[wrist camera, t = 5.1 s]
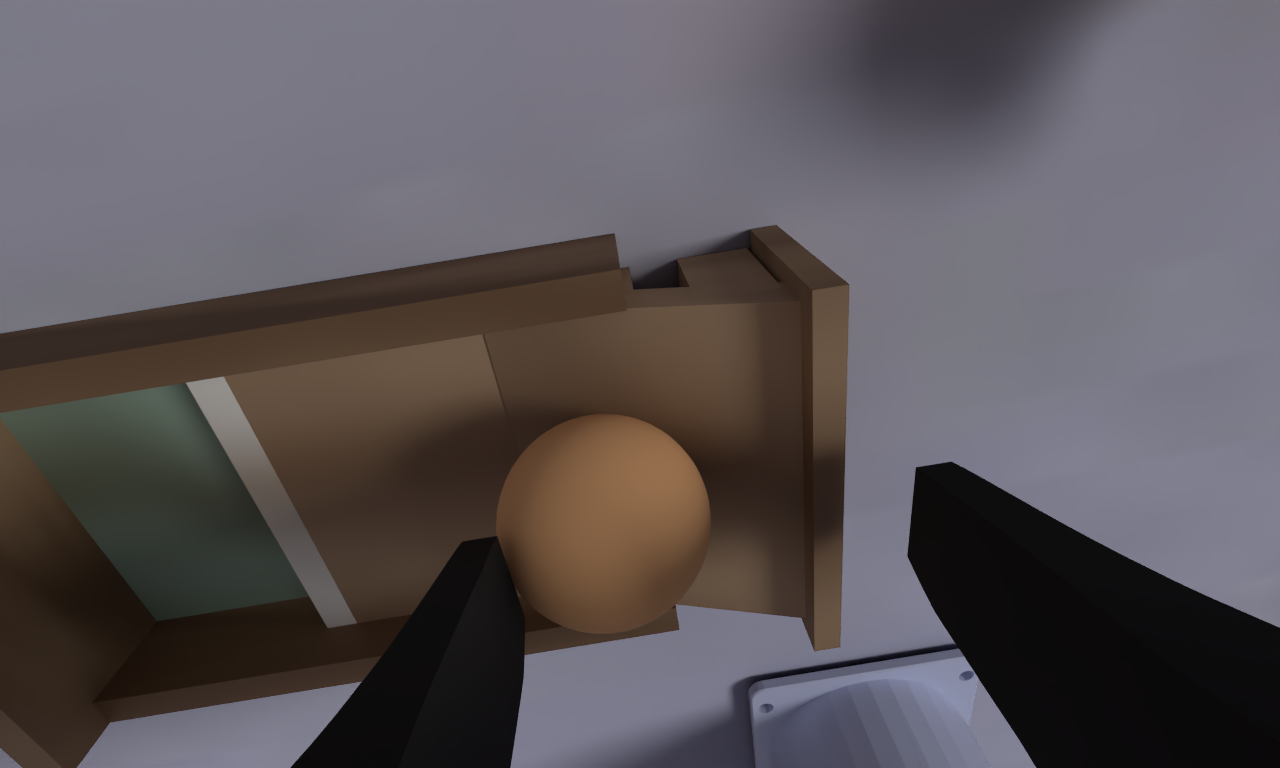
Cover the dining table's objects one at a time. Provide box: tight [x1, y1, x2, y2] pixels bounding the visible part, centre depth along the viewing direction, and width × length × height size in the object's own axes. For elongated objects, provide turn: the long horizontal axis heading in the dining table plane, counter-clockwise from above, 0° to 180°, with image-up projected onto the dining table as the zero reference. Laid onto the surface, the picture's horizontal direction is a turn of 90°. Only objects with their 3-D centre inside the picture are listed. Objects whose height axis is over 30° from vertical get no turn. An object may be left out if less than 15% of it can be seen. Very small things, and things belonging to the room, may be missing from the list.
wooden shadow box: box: [0, 225, 849, 768], centre depth 13 cm, size 10×19×4 cm, turn 98°
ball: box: [496, 414, 711, 634], centre depth 11 cm, size 4×4×4 cm
